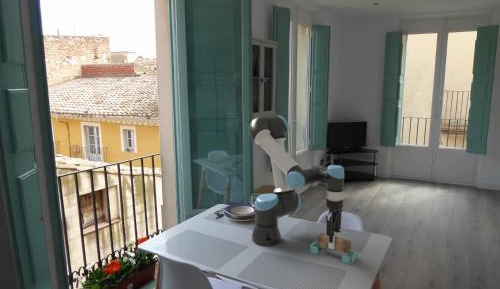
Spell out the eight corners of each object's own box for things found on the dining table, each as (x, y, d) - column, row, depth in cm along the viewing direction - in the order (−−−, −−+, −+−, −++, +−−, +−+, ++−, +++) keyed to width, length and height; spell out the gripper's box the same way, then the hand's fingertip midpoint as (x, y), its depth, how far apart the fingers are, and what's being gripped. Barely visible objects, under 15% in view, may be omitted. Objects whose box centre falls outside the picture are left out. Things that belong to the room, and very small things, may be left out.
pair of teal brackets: (309, 251, 170) (309, 245, 170) (316, 246, 176) (316, 240, 176) (351, 264, 158) (351, 258, 158) (357, 257, 164) (357, 251, 164)
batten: (317, 245, 170) (317, 235, 169) (320, 243, 172) (320, 233, 172) (347, 253, 161) (348, 243, 160) (350, 250, 163) (350, 240, 163)
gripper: (335, 205, 154) (333, 255, 158) (349, 196, 167) (347, 242, 171) (319, 202, 158) (318, 251, 162) (334, 193, 172) (332, 238, 175)
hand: (333, 246), depth 167 cm, fingers closed on batten, 3 cm apart
